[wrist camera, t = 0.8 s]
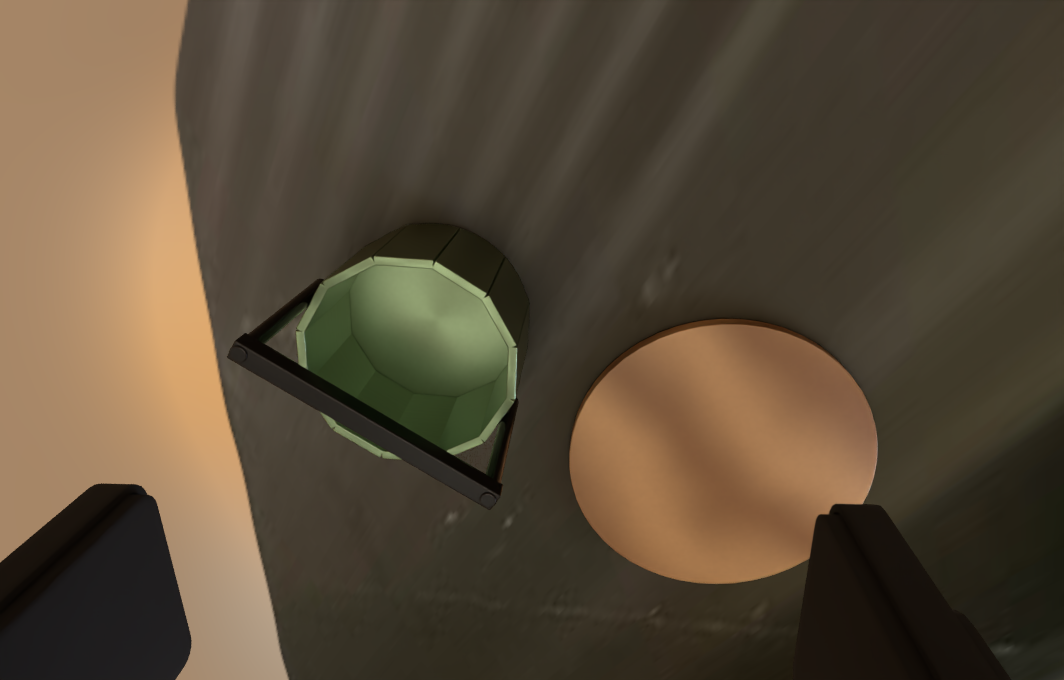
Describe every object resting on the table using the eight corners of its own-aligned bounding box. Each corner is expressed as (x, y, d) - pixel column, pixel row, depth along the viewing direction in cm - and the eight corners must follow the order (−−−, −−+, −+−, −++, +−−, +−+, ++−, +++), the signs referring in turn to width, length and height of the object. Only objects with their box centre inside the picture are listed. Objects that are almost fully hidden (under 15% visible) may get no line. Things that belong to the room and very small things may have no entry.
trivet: (689, 257, 42) (691, 262, 41) (939, 425, 45) (946, 433, 44) (514, 484, 49) (513, 492, 48) (739, 617, 52) (742, 627, 51)
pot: (388, 177, 42) (285, 236, 28) (576, 298, 43) (567, 410, 30) (305, 330, 46) (179, 448, 32) (479, 434, 48) (431, 587, 34)
